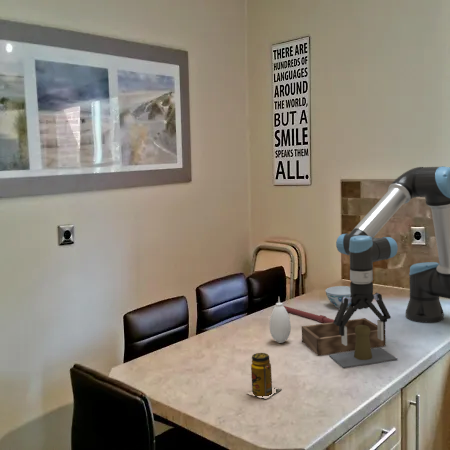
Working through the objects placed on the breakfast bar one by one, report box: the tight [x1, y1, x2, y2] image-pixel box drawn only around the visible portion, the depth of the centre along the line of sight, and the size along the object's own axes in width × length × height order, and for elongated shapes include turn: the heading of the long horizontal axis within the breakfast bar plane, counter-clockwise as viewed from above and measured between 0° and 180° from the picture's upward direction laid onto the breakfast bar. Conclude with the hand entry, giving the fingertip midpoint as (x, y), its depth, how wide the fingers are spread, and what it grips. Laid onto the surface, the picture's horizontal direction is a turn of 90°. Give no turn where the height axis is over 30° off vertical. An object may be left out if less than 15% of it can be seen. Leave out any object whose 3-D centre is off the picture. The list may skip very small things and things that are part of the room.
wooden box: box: [301, 317, 387, 356], centre depth 201 cm, size 26×15×6 cm, turn 103°
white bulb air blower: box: [269, 297, 292, 344], centre depth 205 cm, size 8×8×18 cm
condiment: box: [250, 352, 282, 397], centre depth 163 cm, size 7×8×12 cm
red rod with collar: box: [283, 305, 334, 324], centre depth 232 cm, size 45×3×3 cm, turn 37°
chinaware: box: [325, 285, 351, 309], centre depth 248 cm, size 15×15×8 cm
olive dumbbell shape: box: [354, 325, 372, 360], centre depth 185 cm, size 6×6×11 cm
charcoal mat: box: [328, 347, 399, 369], centre depth 186 cm, size 20×11×1 cm, turn 103°
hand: (362, 341), depth 185 cm, fingers open, 13 cm apart
